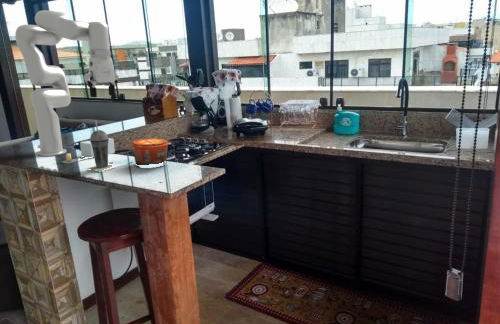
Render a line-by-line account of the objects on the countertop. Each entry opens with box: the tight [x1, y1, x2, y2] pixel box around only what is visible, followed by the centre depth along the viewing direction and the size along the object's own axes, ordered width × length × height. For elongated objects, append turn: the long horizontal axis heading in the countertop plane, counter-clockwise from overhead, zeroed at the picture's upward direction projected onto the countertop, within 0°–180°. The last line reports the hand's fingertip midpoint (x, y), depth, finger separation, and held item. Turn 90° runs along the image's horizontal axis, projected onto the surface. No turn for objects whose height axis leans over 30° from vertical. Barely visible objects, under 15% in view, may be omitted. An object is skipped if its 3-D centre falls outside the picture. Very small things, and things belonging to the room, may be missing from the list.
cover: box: [79, 137, 116, 157], centre depth 179 cm, size 7×14×7 cm, turn 153°
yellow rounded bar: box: [60, 152, 85, 165], centre depth 168 cm, size 5×12×4 cm, turn 153°
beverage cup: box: [89, 119, 109, 168], centre depth 152 cm, size 7×7×20 cm
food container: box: [130, 137, 170, 165], centre depth 160 cm, size 16×16×11 cm
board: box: [86, 160, 114, 171], centre depth 158 cm, size 8×18×1 cm, turn 153°
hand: (103, 96), depth 155 cm, fingers open, 9 cm apart
